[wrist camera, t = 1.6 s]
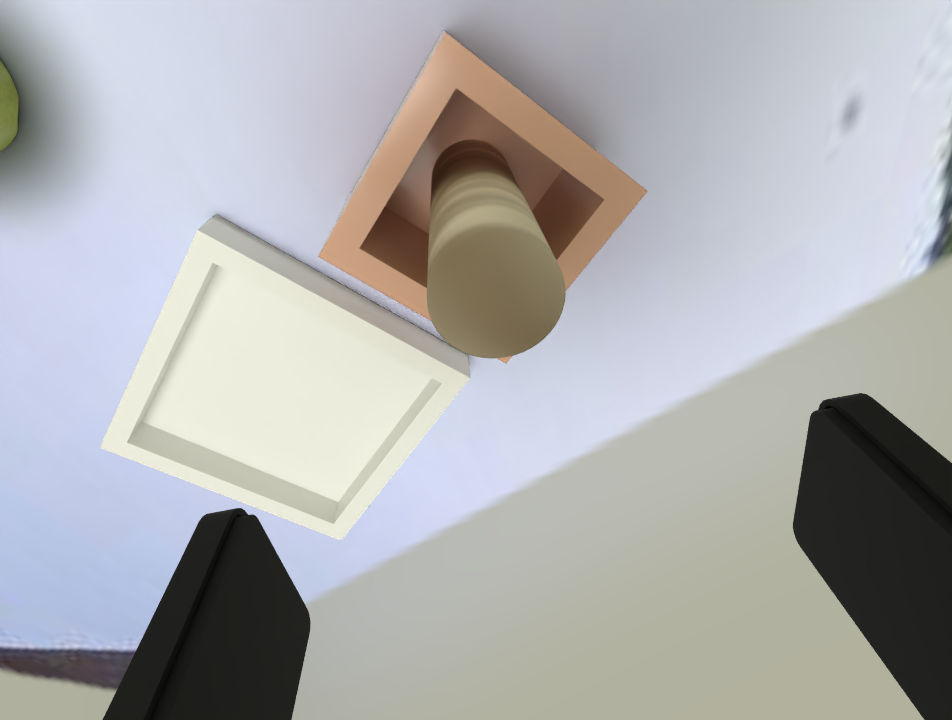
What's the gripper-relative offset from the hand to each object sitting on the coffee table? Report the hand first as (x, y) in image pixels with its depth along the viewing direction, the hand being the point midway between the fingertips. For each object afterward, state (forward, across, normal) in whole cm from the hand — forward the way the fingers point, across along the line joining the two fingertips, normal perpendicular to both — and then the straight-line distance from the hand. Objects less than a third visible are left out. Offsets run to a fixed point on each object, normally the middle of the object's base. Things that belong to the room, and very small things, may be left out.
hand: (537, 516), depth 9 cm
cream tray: (+23, +13, +10) cm, 28 cm away
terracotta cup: (+23, 0, -1) cm, 23 cm away
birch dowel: (+22, 0, -1) cm, 22 cm away
